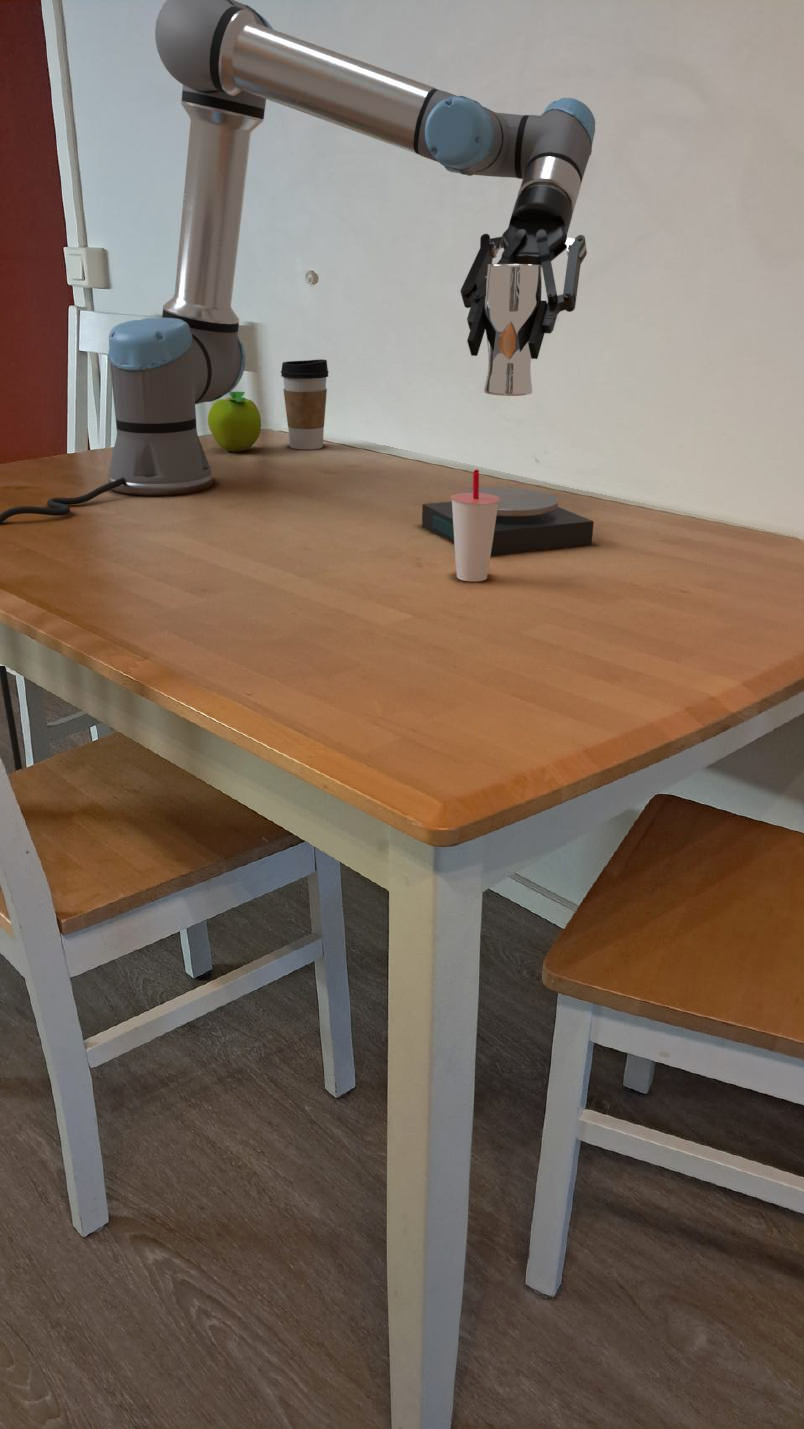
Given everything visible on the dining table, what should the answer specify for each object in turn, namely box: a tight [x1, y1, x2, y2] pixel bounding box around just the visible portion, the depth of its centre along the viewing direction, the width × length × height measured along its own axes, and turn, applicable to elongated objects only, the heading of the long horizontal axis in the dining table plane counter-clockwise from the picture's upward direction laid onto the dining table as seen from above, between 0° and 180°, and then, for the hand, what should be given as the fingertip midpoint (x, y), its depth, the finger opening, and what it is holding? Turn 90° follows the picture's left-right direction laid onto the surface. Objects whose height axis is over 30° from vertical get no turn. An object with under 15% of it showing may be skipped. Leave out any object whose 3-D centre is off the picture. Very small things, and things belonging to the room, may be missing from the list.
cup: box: [450, 469, 500, 583], centre depth 117 cm, size 5×5×12 cm
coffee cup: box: [280, 358, 329, 451], centre depth 190 cm, size 8×8×15 cm
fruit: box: [207, 391, 262, 453], centre depth 187 cm, size 9×9×10 cm
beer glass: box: [483, 263, 543, 397], centre depth 132 cm, size 7×7×15 cm
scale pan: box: [457, 486, 559, 516], centre depth 135 cm, size 13×13×1 cm
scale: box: [421, 501, 595, 557], centre depth 136 cm, size 16×16×3 cm
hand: (502, 349), depth 130 cm, fingers closed on beer glass, 7 cm apart
